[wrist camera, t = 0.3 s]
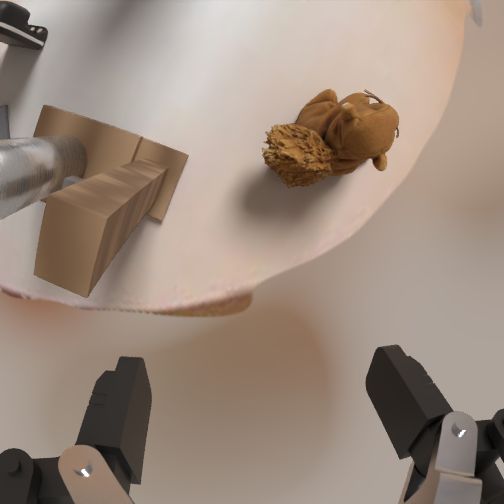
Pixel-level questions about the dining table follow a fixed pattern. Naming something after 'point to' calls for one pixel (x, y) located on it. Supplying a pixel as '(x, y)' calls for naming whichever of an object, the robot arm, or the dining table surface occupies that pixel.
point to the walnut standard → (100, 198)
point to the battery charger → (19, 27)
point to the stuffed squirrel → (331, 138)
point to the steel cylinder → (37, 169)
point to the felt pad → (4, 123)
